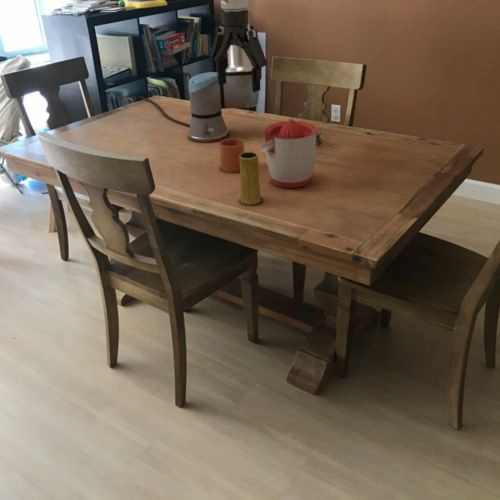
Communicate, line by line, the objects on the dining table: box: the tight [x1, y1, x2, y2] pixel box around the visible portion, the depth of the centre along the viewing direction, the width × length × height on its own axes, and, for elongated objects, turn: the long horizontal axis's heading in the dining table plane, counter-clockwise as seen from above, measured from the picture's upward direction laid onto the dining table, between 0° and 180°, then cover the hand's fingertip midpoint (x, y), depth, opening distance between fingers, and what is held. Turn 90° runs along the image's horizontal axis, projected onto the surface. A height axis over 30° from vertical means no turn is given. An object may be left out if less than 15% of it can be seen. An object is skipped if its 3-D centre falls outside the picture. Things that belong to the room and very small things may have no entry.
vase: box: [239, 151, 262, 206], centre depth 148 cm, size 6×6×14 cm
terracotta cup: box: [219, 137, 245, 174], centre depth 171 cm, size 8×8×9 cm
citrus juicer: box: [260, 118, 318, 189], centre depth 157 cm, size 16×17×20 cm
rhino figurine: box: [316, 131, 325, 146], centre depth 188 cm, size 4×14×6 cm, turn 37°
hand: (239, 87), depth 153 cm, fingers open, 13 cm apart
